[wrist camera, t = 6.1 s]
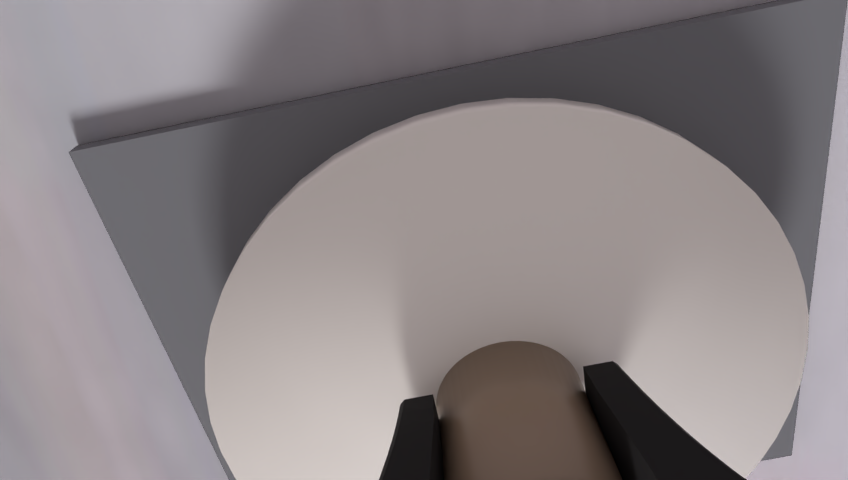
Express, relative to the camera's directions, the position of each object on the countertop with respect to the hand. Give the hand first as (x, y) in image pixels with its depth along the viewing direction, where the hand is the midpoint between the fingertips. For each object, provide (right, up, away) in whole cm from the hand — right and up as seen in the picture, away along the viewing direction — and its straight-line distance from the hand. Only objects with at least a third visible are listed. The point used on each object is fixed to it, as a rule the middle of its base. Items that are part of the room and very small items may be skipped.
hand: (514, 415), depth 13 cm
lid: (0, 0, +1) cm, 1 cm away
